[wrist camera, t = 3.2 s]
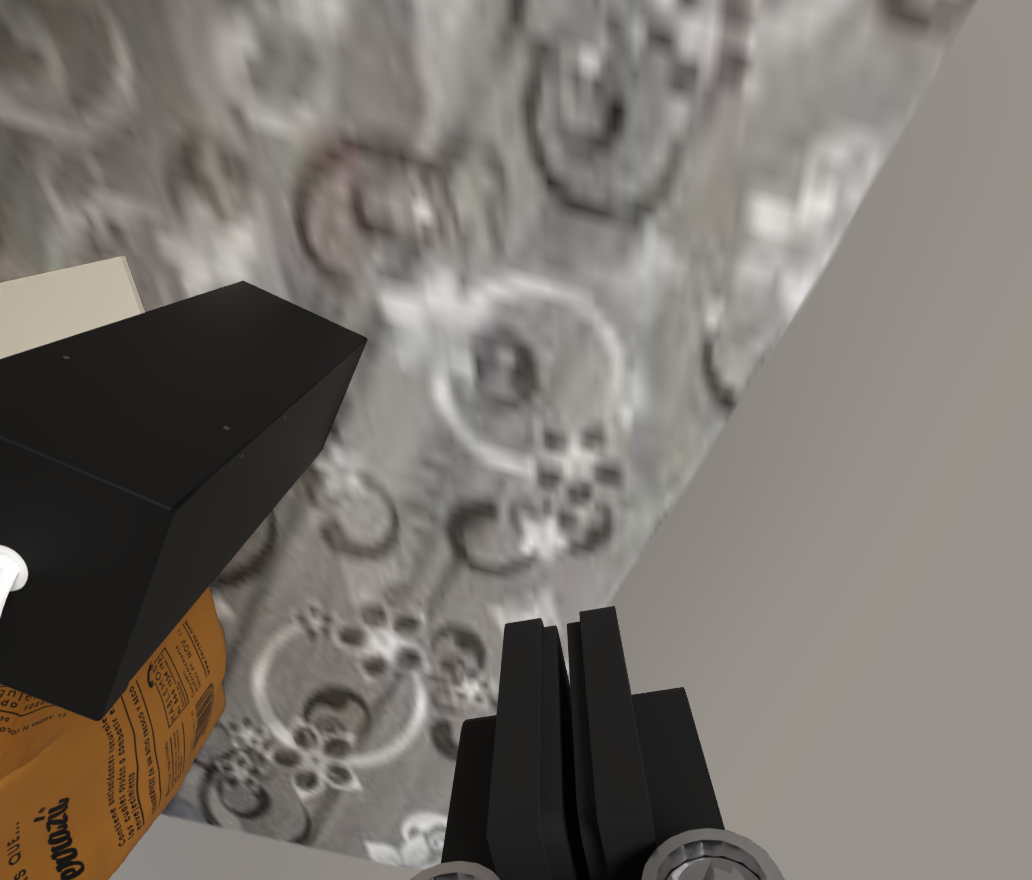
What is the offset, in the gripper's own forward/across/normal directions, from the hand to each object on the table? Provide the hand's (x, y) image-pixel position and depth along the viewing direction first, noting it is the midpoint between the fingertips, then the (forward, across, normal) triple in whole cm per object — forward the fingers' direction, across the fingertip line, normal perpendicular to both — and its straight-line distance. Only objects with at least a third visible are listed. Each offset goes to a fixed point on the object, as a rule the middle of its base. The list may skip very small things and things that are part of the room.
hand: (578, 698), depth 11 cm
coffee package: (+34, +30, +16) cm, 48 cm away
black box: (+34, +16, -1) cm, 38 cm away
